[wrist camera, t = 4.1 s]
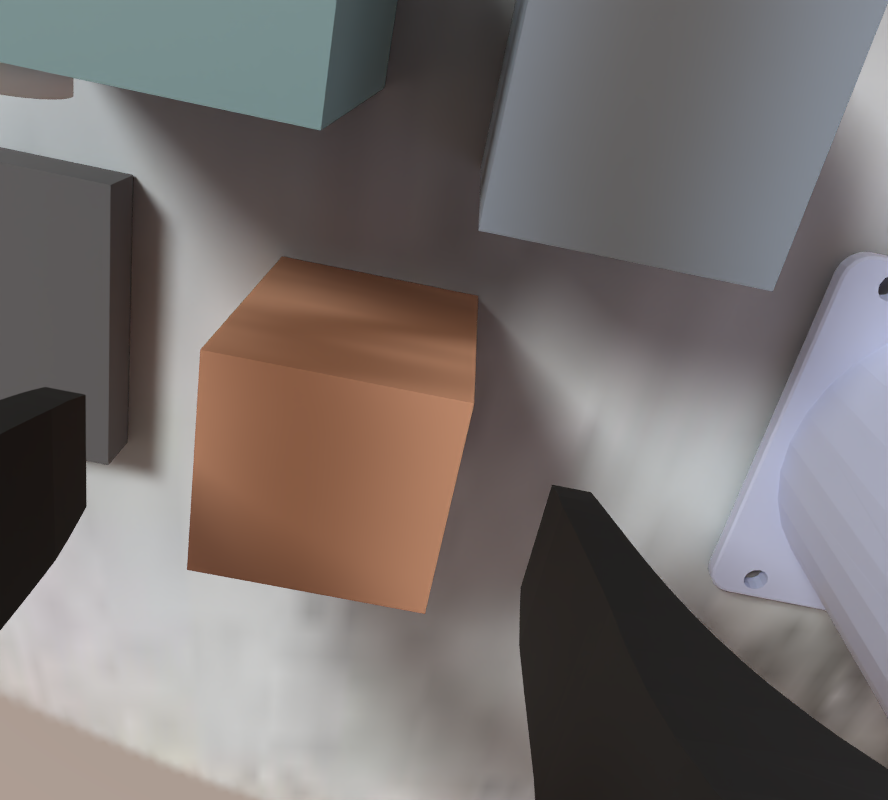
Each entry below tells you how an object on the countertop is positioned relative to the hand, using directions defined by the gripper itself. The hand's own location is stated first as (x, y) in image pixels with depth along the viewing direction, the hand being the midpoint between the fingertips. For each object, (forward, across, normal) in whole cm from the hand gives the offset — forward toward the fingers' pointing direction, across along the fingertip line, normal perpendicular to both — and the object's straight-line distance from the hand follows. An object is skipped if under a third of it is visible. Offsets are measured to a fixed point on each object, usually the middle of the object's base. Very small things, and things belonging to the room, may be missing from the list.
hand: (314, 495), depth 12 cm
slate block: (+5, -4, -6) cm, 9 cm away
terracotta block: (+5, 0, 0) cm, 5 cm away
